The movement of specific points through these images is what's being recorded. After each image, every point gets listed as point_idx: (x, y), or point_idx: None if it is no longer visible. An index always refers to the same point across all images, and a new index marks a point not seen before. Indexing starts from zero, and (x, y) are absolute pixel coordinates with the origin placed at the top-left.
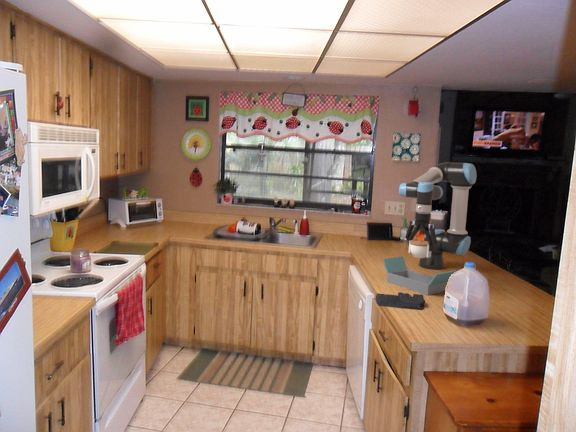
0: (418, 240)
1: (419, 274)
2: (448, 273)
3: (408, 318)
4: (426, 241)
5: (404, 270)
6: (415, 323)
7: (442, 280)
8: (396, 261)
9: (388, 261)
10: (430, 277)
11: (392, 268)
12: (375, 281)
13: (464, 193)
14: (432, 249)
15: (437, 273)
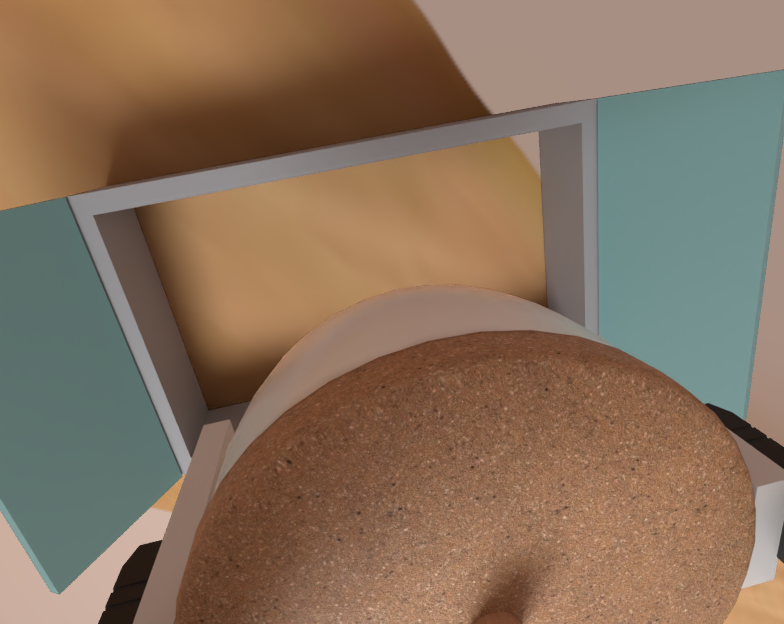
0: (313, 602)
1: (270, 181)
2: (748, 219)
3: (728, 615)
4: (520, 447)
5: (112, 263)
6: (772, 616)
7: (639, 231)
8: (17, 384)
9: (64, 510)
10: (410, 154)
11: (129, 430)
12: (175, 496)
13: None
14: (743, 429)
15: (744, 404)
